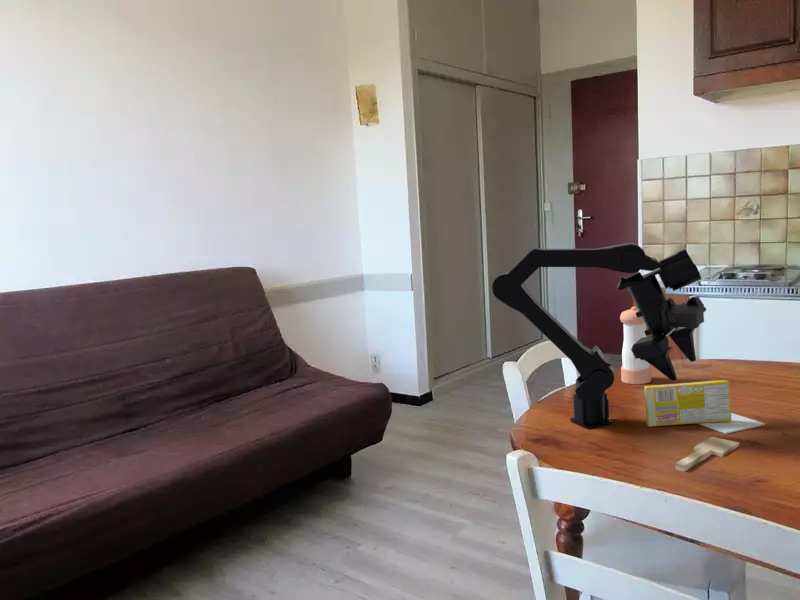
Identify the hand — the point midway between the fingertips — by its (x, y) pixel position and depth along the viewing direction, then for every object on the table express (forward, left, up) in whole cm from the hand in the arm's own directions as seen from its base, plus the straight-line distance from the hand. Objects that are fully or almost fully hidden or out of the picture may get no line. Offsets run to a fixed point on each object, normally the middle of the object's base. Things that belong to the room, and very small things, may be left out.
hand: (684, 370), depth 131 cm
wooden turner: (-9, -14, -11) cm, 20 cm away
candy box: (+1, 0, -11) cm, 11 cm away
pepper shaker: (+14, +32, -11) cm, 37 cm away
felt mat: (+7, 0, -11) cm, 13 cm away
